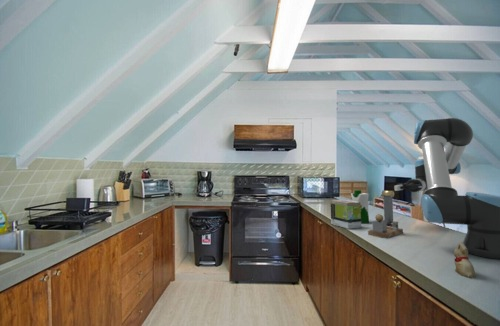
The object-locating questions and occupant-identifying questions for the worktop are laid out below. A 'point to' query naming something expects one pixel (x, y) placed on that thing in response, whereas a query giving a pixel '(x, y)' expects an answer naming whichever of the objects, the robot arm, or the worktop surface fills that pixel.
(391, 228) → the bench
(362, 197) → the milk carton
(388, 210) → the lever
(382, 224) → the grey block
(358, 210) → the tea box
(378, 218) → the walnut
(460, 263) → the chocolate bunny
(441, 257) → the worktop surface
